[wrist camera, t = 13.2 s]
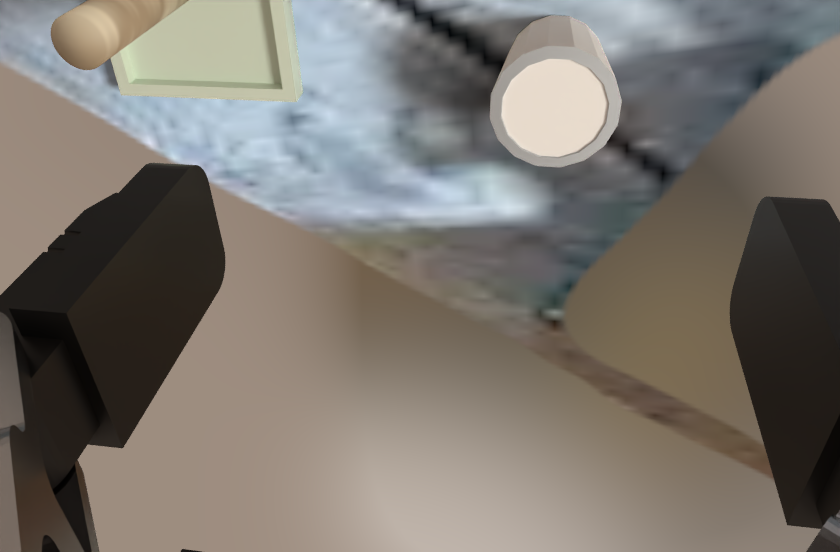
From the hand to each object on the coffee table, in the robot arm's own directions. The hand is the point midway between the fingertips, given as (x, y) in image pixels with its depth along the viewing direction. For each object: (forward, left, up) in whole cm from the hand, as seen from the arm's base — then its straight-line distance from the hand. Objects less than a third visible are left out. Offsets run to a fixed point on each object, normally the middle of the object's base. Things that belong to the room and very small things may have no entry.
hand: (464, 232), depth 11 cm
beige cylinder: (+10, +2, -34) cm, 36 cm away
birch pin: (+5, -20, -34) cm, 39 cm away
